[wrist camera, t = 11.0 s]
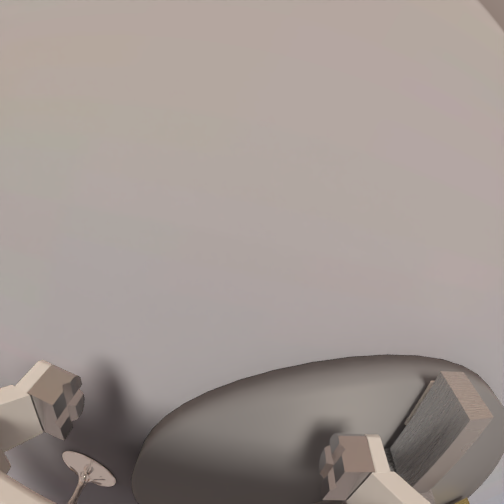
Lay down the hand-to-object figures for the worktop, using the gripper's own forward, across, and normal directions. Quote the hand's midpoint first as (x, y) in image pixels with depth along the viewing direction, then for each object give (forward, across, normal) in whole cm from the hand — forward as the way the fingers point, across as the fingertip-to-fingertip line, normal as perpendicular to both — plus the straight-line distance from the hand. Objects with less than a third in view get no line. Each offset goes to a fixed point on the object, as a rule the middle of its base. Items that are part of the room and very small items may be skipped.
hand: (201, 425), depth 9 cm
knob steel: (+2, -8, +2) cm, 9 cm away
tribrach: (+4, -8, +11) cm, 14 cm away
